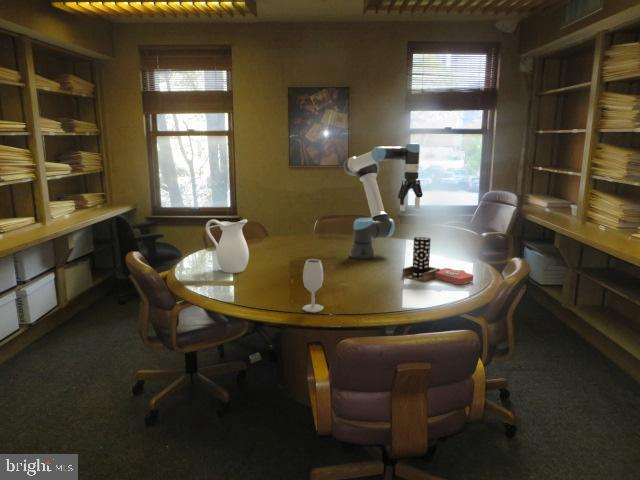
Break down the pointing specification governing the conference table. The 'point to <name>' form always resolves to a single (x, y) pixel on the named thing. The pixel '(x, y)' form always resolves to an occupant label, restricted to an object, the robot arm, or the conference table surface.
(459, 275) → the plaque
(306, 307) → the wineglass
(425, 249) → the spotted tube
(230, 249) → the pitcher
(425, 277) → the walnut tray
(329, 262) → the conference table surface
